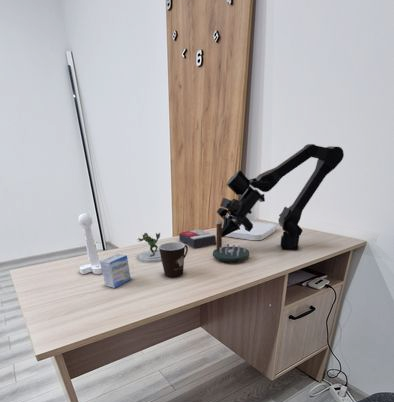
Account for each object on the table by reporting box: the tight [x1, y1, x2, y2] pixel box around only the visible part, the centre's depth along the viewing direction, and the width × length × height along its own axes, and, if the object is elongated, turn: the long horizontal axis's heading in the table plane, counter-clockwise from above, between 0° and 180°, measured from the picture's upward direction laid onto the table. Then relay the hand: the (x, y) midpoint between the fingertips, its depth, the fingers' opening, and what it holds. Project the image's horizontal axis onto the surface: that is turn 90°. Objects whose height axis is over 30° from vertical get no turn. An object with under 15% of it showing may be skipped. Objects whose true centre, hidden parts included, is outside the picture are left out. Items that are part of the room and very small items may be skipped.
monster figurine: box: [136, 232, 162, 263], centre depth 118 cm, size 12×12×10 cm
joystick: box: [77, 213, 103, 275], centre depth 104 cm, size 11×8×20 cm
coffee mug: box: [158, 241, 189, 279], centre depth 102 cm, size 12×9×10 cm
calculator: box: [178, 229, 217, 249], centre depth 135 cm, size 11×4×15 cm
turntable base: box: [217, 259, 245, 264], centre depth 116 cm, size 10×10×1 cm
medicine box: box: [99, 253, 132, 289], centre depth 97 cm, size 8×4×9 cm, turn 148°
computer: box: [225, 221, 277, 241], centre depth 145 cm, size 22×22×3 cm
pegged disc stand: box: [212, 220, 251, 261], centre depth 112 cm, size 14×14×12 cm
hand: (220, 236), depth 116 cm, fingers closed, pressing on pegged disc stand
